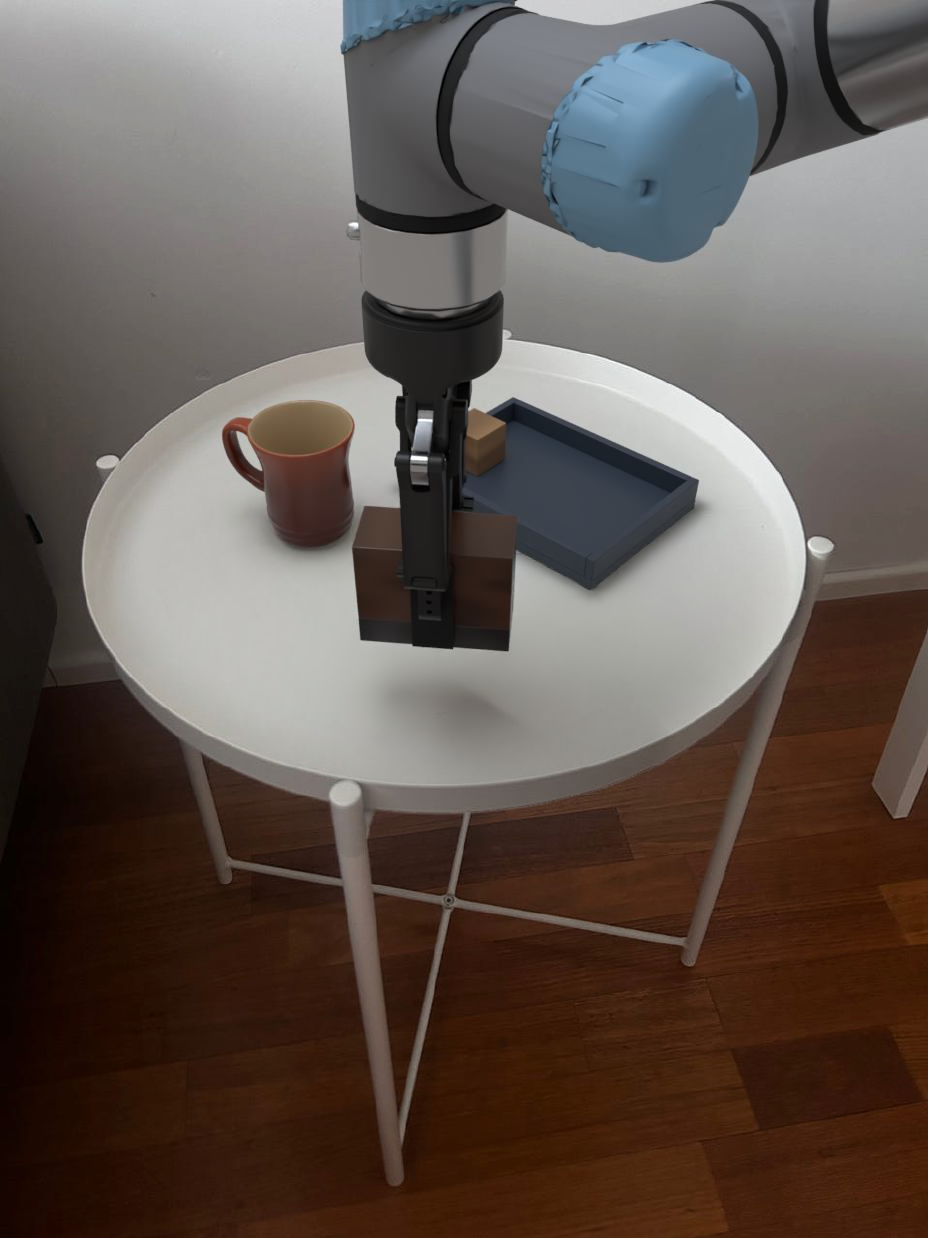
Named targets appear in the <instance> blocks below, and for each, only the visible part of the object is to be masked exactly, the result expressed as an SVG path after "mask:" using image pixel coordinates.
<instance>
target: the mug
mask: <svg viewBox="0 0 928 1238" xmlns="http://www.w3.org/2000/svg"><path fill="white" fill-rule="evenodd" d="M355 427H356V424H355V419H354V418H353V417H352V414H351V413H350V412H349V411H348V410H346V409H344V408H343V407H341V406H339V405H337V404H334V403H331V402H329V401H324V400H314V399H299V400H298V399H297V400H290V401H285V402H280V403H278V404H277V403H276V404H274V405H271V406H268V407H267V408H264V409H262V410H261V411H260V412H258V413H257V414H256V415H255V416H253V417H252V418H251V417H250V418H249V417H243V416H239V417H238V416H237V417H234V418H232V419H230V420H229V421H228V422H227V423H226V424H225V425H224V426H223V428H222V430H221V440H222V445H223V449H224V452H225V454H226V457H227V459H228V461H229V463H230V464H231V466H232V468H233V469H234V470H235V471H236V472H237V473H238V474H239V475H240V476H241V477H242V479H244V480H245V481H246V482H248V483H249V484H251V485H252V486H253V487H254V488H255V489H257V490H258V491H260V492H263V493H264V496H265V502H266V504H265V505H266V512H267V516H268V518H269V522H270V525H271V526H272V529H273V532H274V533H275V535H276V536H277V538H279V539H280V540H282V541H283V542H285V543H287V544H289V545H292V546H296V547H301V548H320V547H324V546H327V545H331V544H332V543H334V542H337V541H338V540H340V539H341V538H343V537H344V536H345V535H346V534H347V533H348V532H349V531H350V529H351V526H352V524H353V518H354V511H355V510H354V509H355V508H354V507H355V499H354V494H353V483H352V475H351V470H350V450H351V445H352V441H353V438H354V434H355V429H356V428H355ZM237 432H240V433H242V434H244V435H245V436H246V437H247V440H248V442H249V444H250V446H251V448H252V450H253V451H254V453H255V455H256V458H257V460H258V461H259V464H260V467H261V469H258V468H257V467H255V466H254V465H253V464H252V463H251V462H249V460H248V459H247V458H246V456H245V454H244V451H243V450H242V448H241V444H240V441H239V438H238V433H237Z"/></svg>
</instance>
